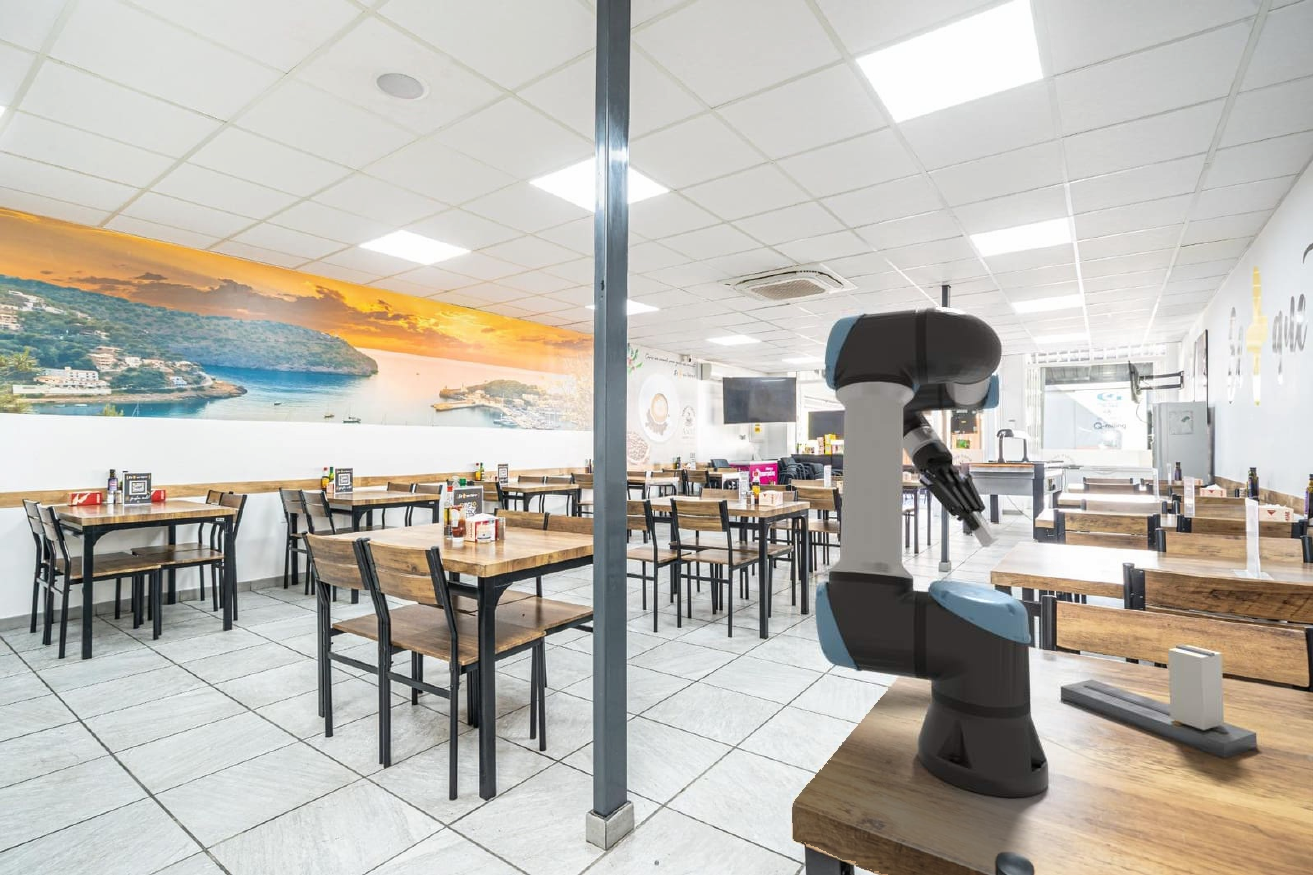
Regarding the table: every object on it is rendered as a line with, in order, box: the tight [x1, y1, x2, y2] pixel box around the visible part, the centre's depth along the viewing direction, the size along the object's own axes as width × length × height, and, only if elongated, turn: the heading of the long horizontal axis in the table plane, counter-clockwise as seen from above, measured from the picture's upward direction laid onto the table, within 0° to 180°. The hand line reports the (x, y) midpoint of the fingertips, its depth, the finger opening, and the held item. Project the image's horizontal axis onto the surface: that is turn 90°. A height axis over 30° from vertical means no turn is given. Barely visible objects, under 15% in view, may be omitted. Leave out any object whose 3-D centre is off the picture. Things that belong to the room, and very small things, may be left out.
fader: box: [1168, 644, 1225, 730], centre depth 89 cm, size 4×5×10 cm
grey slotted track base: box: [1060, 679, 1258, 759], centre depth 94 cm, size 22×8×2 cm, turn 23°
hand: (990, 542), depth 118 cm, fingers closed
